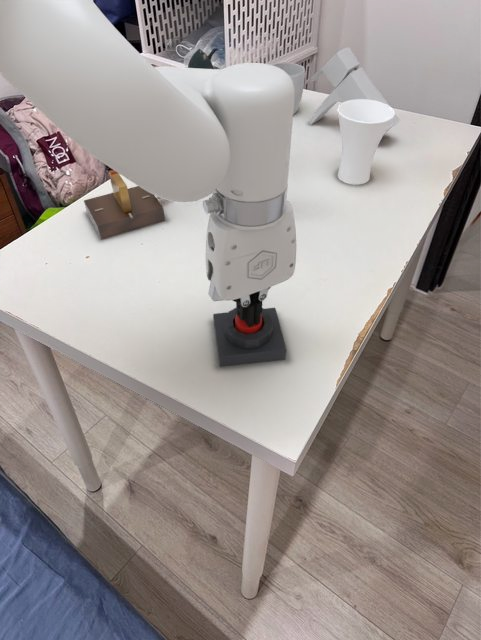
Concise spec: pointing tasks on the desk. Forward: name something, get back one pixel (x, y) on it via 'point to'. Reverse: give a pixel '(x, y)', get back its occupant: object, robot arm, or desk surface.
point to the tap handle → (120, 191)
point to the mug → (294, 80)
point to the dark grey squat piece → (248, 340)
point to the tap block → (113, 218)
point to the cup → (361, 137)
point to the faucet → (347, 84)
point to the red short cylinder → (244, 328)
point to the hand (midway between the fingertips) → (249, 318)
